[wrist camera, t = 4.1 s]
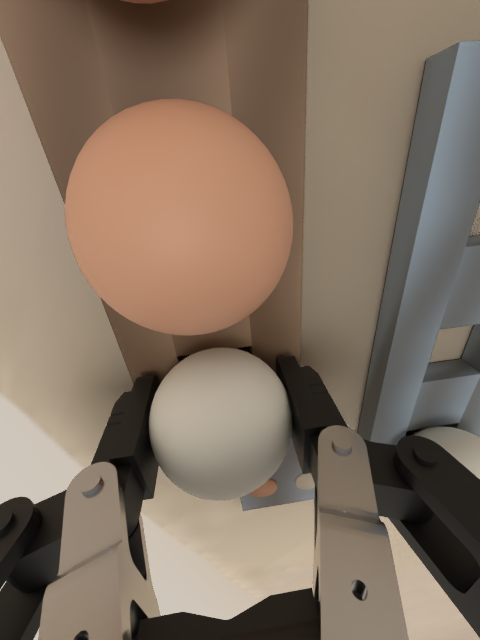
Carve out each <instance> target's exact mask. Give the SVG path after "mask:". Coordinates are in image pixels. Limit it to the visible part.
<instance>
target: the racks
mask: <svg viewBox="0 0 480 640" xmlns="http://www.w3.org/2000/svg"><path fill="white" fill-rule="evenodd" d="M307 35H308V0H167V1H163V2H157V3H151V4H147V3H131V2H126V1H121V0H0V37H1V39H2V42H3V44H4V47H5V50H6V52H7V55H8V57H9V60H10V63H11V65H12V68H13V71H14V73H15V76H16V78H17V81H18V84H19V86H20V89H21V91H22V94H23V97H24V99H25V102H26V104H27V107H28V110H29V112H30V115H31V118H32V120H33V123H34V125H35V128H36V131H37V133H38V136H39V138H40V141H41V144H42V146H43V149H44V151H45V154H46V157H47V159H48V162H49V164H50V167H51V170H52V172H53V175H54V178H55V180H56V183H57V185H58V188H59V191H60V193H61V196H62V198H63V201H64V204H65V200H66V190H67V186H68V181H69V177H70V174H71V171H72V169H73V166H74V164H75V161H76V159H77V156H78V155H79V153H80V151H81V150H82V148H83V146H84V145H85V143H86V141H87V140H88V139H89V138H90V137H91V135H92V134H93V133H94V132H95V131H96V130H97V128H99V127H100V126H101V125H102V124H103V123H105V122H106V121H107V120H108V119H110V118H111V117H112V116H114V115H116V114H118V113H119V112H121V111H123V110H125V109H127V108H129V107H132V106H135V105H138V104H140V103H144V102H149V101H154V100H160V99H183V100H190V101H196V102H200V103H203V104H206V105H209V106H213V107H215V108H217V109H219V110H221V111H223V112H225V113H227V114H229V115H231V116H232V117H234V118H235V119H237V120H238V121H240V122H241V123H243V124H244V125H245V126H246V127H247V128H249V129H250V130H251V131H252V132H253V133H254V134H255V135H256V136H257V137H258V138H259V139H260V140H261V142H262V143H263V144H264V145H265V146H266V148H267V149H268V150H269V152H270V153H271V155H272V156H273V158H274V160H275V161H276V163H277V164H278V166H279V169H280V171H281V173H282V175H283V177H284V179H285V182H286V185H287V188H288V192H289V195H290V200H291V205H292V211H293V238H292V244H291V249H290V254H289V258H288V261H287V264H286V267H285V270H284V272H283V274H282V276H281V278H280V281H279V282H278V284H277V285H276V287H275V289H274V290H273V292H272V293H271V294H270V295H269V297H268V298H267V299H266V300H265V301H264V302H263V303H262V304H261V305H260V306H259V307H258V308H257V309H256V310H255V311H254V312H253V313H251V314H250V315H249V316H247V317H246V318H245V319H243V320H241V321H240V322H238V323H236V324H234V325H232V326H230V327H228V328H225V329H222V330H219V331H216V332H213V333H207V334H202V335H191V336H188V335H173V334H166V333H162V332H158V331H154V330H151V329H148V328H145V327H143V326H140V325H138V324H136V323H134V322H132V321H130V320H129V319H127V318H125V317H124V316H122V315H121V314H119V313H118V312H117V311H115V310H114V309H113V308H112V307H110V306H109V305H108V304H107V303H106V302H105V301H104V300H103V299H102V298H101V297H100V298H101V300H102V303H103V305H104V308H105V311H106V313H107V316H108V318H109V321H110V324H111V326H112V329H113V332H114V334H115V337H116V339H117V342H118V345H119V347H120V350H121V352H122V355H123V358H124V360H125V363H126V365H127V368H128V371H129V373H130V376H131V379H132V381H133V384H134V383H135V380H136V378H138V377H144V376H151V375H156V376H157V377H158V380H159V383H160V384H161V382H162V381H163V379H164V378H165V376H166V375H167V374H168V373H169V372H170V370H171V369H172V368H173V367H174V366H176V365H177V364H178V363H180V362H181V361H182V360H183V359H184V356H183V355H191V354H194V353H197V352H200V351H203V350H206V349H211V348H233V349H234V348H241V347H248V346H249V348H250V354H252V355H254V356H256V357H257V358H259V359H261V360H262V361H263V362H265V363H266V364H267V365H268V366H269V367H270V368H271V369H272V370H273V371H274V372H275V373H276V358H280V357H287V356H295V358H296V360H297V362H298V364H299V366H300V351H301V306H302V261H303V216H304V170H305V125H306V80H307ZM479 203H480V40H477V41H465V42H459V43H457V44H455V45H453V46H451V47H449V48H447V49H445V50H443V51H441V52H439V53H437V54H435V55H433V56H431V57H429V58H427V59H426V65H425V70H424V75H423V81H422V86H421V92H420V97H419V102H418V108H417V113H416V119H415V124H414V130H413V135H412V140H411V146H410V151H409V157H408V162H407V167H406V173H405V178H404V184H403V189H402V194H401V200H400V205H399V211H398V216H397V222H396V227H395V232H394V238H393V243H392V249H391V254H390V259H389V265H388V270H387V276H386V281H385V286H384V292H383V297H382V303H381V308H380V314H379V319H378V324H377V330H376V335H375V341H374V346H373V351H372V357H371V362H370V368H369V373H368V378H367V384H366V389H365V395H364V400H363V406H362V411H361V416H360V422H359V427H358V434H359V435H360V436H361V437H362V438H363V439H365V440H368V441H371V442H376V443H384V444H391V445H397V443H398V442H399V440H400V439H401V438H403V437H405V435H406V432H407V431H411V430H417V429H423V428H430V427H439V426H441V427H452V428H457V429H461V430H464V431H467V432H470V433H472V434H474V435H476V436H478V437H480V235H474V236H469V234H470V231H471V228H472V225H473V222H474V219H475V216H476V212H477V209H478V206H479ZM468 325H474V327H473V330H472V332H471V335H470V337H469V340H468V342H467V345H466V347H465V350H464V353H463V355H462V358H461V359H456V360H449V361H442V362H435V363H429V360H430V356H431V353H432V350H433V347H434V344H435V341H436V338H437V335H438V331H439V330H440V329H447V328H454V327H461V326H468ZM428 363H429V364H428ZM314 488H315V483H314V481H313V478H312V475H311V473H308V474H302V470H301V467H300V464H299V461H298V458H297V455H296V452H295V448H294V445H293V442H292V439H290V443H289V447H288V450H287V452H286V455H285V457H284V459H283V461H282V463H281V464H280V466H279V467H278V469H277V470H276V472H275V473H274V474H273V475H272V476H271V477H270V478H269V479H268V480H267V482H265V483H264V484H263V485H262V486H260V487H259V488H257V489H256V490H254V491H253V492H251V493H249V494H247V495H244V496H242V497H241V502H242V508H243V511H246V510H252V509H258V508H263V507H269V506H275V505H281V504H287V503H293V502H299V501H305V500H311V499H314Z"/></svg>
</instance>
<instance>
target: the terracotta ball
mask: <svg viewBox="0 0 480 640" xmlns="http://www.w3.org/2000/svg"><path fill="white" fill-rule="evenodd" d="M65 219H66V228H67V233H68V238H69V242H70V245H71V248H72V251H73V254H74V257H75V259H76V261H77V263H78V265H79V267H80V270H81V272H82V273H83V275H84V276H85V278H86V279H87V281H88V283H89V284H90V285H91V287H92V288H93V289H94V290H95V292H96V293H97V294H98V295H99V296H100V297H101V298H102V299H103V300H104V301H105V302H106V303H107V304H108V305H109V306H110V307H112V308H113V309H114V310H115V311H117V312H118V313H119V314H121V315H122V316H124V317H125V318H127V319H129V320H130V321H132V322H134V323H136V324H138V325H140V326H143V327H145V328H148V329H151V330H154V331H158V332H162V333H166V334H173V335H188V336H191V335H202V334H207V333H213V332H216V331H219V330H222V329H225V328H228V327H230V326H232V325H234V324H236V323H238V322H240V321H241V320H243V319H245V318H246V317H247V316H249V315H250V314H251V313H253V312H254V311H255V310H256V309H257V308H258V307H259V306H260V305H261V304H262V303H263V302H264V301H265V300H266V299H267V298H268V297H269V295H270V294H271V293H272V292H273V290H274V289H275V287H276V285H277V284H278V282H279V281H280V278H281V276H282V274H283V272H284V270H285V267H286V264H287V261H288V258H289V254H290V249H291V244H292V238H293V211H292V205H291V200H290V195H289V192H288V188H287V185H286V182H285V179H284V177H283V175H282V173H281V171H280V169H279V166H278V164H277V163H276V161H275V160H274V158H273V156H272V155H271V153H270V152H269V150H268V149H267V148H266V146H265V145H264V144H263V143H262V142H261V140H260V139H259V138H258V137H257V136H256V135H255V134H254V133H253V132H252V131H251V130H250V129H249V128H247V127H246V126H245V125H244V124H243V123H241V122H240V121H238V120H237V119H235V118H234V117H232V116H231V115H229V114H227V113H225V112H223V111H221V110H219V109H217V108H215V107H213V106H209V105H206V104H203V103H200V102H196V101H190V100H183V99H160V100H154V101H149V102H144V103H140V104H138V105H135V106H132V107H129V108H127V109H125V110H123V111H121V112H119V113H118V114H116V115H114V116H112V117H111V118H110V119H108V120H107V121H106V122H105V123H103V124H102V125H101V126H100V127H99V128H97V130H96V131H95V132H94V133H93V134H92V135H91V137H90V138H89V139H88V140H87V141H86V143H85V145H84V146H83V148H82V150H81V151H80V153H79V155H78V156H77V159H76V161H75V164H74V166H73V169H72V171H71V174H70V177H69V181H68V186H67V190H66V200H65Z"/></svg>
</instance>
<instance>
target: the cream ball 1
mask: <svg viewBox="0 0 480 640" xmlns="http://www.w3.org/2000/svg"><path fill="white" fill-rule="evenodd" d="M291 433H292V412H291V406H290V402H289V398H288V394H287V392H286V390H285V388H284V386H283V384H282V382H281V380H280V379H279V378H278V376H277V375H276V373H275V372H274V371H273V370H272V369H271V368H270V367H269V366H268V365H267V364H266V363H265V362H263V361H262V360H261V359H259V358H257V357H256V356H254V355H252V354H250V353H248V352H245V351H242V350H238V349H233V348H211V349H206V350H203V351H200V352H197V353H194V354H192V355H190V356H188V357H187V358H185V359H183V360H182V361H181V362H180V363H178V364H177V365H176V366H174V367H173V368H172V369H171V370H170V372H169V373H168V374H167V375H166V376H165V378H164V379H163V381H162V382H161V384H160V386H159V387H158V389H157V391H156V393H155V396H154V399H153V402H152V405H151V409H150V416H149V437H150V442H151V447H152V450H153V453H154V455H155V458H156V460H157V462H158V464H159V466H160V467H161V469H162V470H163V472H164V473H165V474H166V476H167V477H168V478H169V479H170V480H171V481H172V482H173V483H174V484H175V485H177V486H178V487H179V488H181V489H182V490H184V491H185V492H187V493H189V494H191V495H194V496H197V497H199V498H203V499H208V500H230V499H235V498H238V497H242V496H244V495H247V494H249V493H251V492H253V491H254V490H256V489H257V488H259V487H260V486H262V485H263V484H264V483H265V482H267V480H268V479H269V478H270V477H271V476H272V475H273V474H274V473H275V472H276V470H277V469H278V467H279V466H280V464H281V463H282V461H283V459H284V457H285V455H286V452H287V450H288V447H289V443H290V439H291Z"/></svg>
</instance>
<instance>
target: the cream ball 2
mask: <svg viewBox="0 0 480 640" xmlns="http://www.w3.org/2000/svg"><path fill="white" fill-rule="evenodd" d="M413 435H416V436H422V437H425V438H428V439H430V440H432V441H434V442H436V443H437V444H439V445H440V446H441V447H443V448H444V449H445V450H446V451H447V452H449V453H450V454H451V455H452V456H453V457H454V458H456V459H457V460H458V461H459V462H460V463H461V464H463V465H464V466H465V467H466V468H467V469H468V470H469V471H471V472H472V473H473V474H474V475H475V476H476V477H478V478H479V479H480V437H478V436H476V435H474V434H472V433H470V432H467V431H464V430H461V429H457V428H452V427H441V426H439V427H430V428H425V429H422V430H420V431H418V432H416V433H414V434H413Z"/></svg>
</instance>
